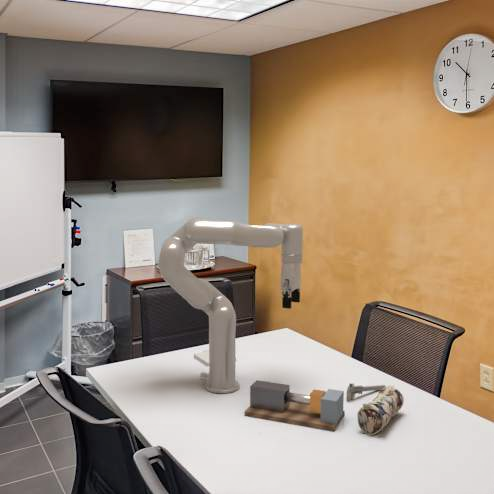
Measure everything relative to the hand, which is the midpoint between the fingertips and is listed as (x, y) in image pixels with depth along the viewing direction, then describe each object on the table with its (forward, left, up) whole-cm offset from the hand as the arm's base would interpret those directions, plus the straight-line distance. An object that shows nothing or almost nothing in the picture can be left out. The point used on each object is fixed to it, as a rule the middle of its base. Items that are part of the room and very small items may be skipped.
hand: (291, 305), depth 226 cm
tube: (+14, -25, -27) cm, 40 cm away
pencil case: (+37, -19, -31) cm, 52 cm away
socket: (+22, -25, -29) cm, 44 cm away
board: (+10, -25, -30) cm, 41 cm away
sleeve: (+1, -25, -29) cm, 38 cm away
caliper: (+28, +2, -31) cm, 42 cm away
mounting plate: (-38, +15, -31) cm, 51 cm away
